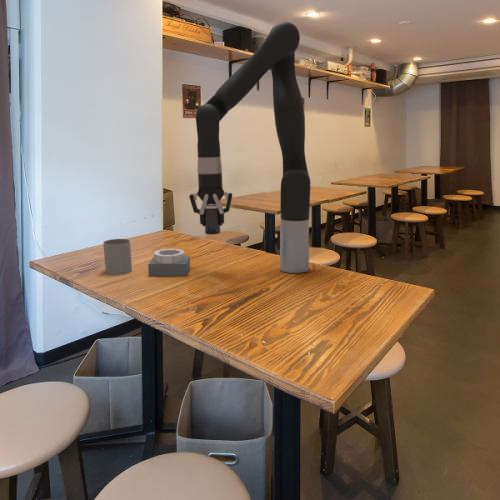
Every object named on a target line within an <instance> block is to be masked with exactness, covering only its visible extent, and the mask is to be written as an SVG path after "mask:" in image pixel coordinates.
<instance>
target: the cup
mask: <svg viewBox="0 0 500 500" xmlns="http://www.w3.org/2000/svg"><path fill="white" fill-rule="evenodd" d="M102 244H103V253H104V254H103V255H104V266H105V273H106V274H107V275H111V276H119V275H125V274H130V273H131V272H133V264H132V253H131V250H132V249H131V240H130V239H127V238H113V239H108V240H104V241H103V243H102Z"/></svg>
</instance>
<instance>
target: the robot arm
mask: <svg viewBox="0 0 500 500" xmlns="http://www.w3.org/2000/svg"><path fill="white" fill-rule="evenodd" d="M300 35H301V34H300V31H299V28H297V26H296V25H295V24H293V23H292V22H289V21H280V22H279V23H277V24H275V25H274V26H273V27H272V28H271V29H270V31H269V33H268V35H267V36H266V38H265V39H264V40H263V43H262V44H261V45H260V46H259V47H258V48H257V50H256V51H254V53H253V54H252V55H251V56H250V58H248V59H247V60H246V61H245V62H244V63H243V64H242V65H241V66H240V67H239V68H238V69H236V71H234V73H233V74H232V75H231V76H229V77H228V79H227V80H226V81H225V82H224V83H223V84H221V86H220V87H219V88H218V89H217V90H216V91H215V93H214V95H213V96H211V97H210V99H209V100H208V101H206V102H205V103H204V104H202V105H200V106H199V107H198V108H197V110H196V112H195V123H196V124H195V126H196V133H197V134H196V135H197V145H196V147H197V148H196V149H197V170H196V171H197V181H198V182H197V183H198V191H197V192H196V193H190V194H189V196H188V198H189V201H190V203H191V204H190V205H191V207H192V211H193V213H194V214H198V215H199V223H200V225H202V227H205V221H204V209H205V206H206V205H209V204H214V205H215V204H216V205H217V207H218V209H219V212H220V214H219V215H220V227H222V226H223V225H224V224H225V213H229V212H230V209H231V205H232V198H233V193H232V192H226V191H225V190H224V189H223V168H222V167H223V166H222V165H223V164H222V160H221V159H222V158H221V142H220V122H221V121H222V119H223V118H224V117H225V116H226V115H227V114H228V113H229V112H230V110H232V109H233V108H235V107H236V106H237V105H238V104H239V103H240V102H241V101H242V100H243V99H244V98H245V97H246V96H247V95H248V94H249V93H250V92H251V91H252V89H253V88H254V87H255V86H256V85H257V84H258V82H259V81H260V80H261V79H262V78H263V77H264V76H265V74H266V73H267V72H268V71H271V78H272V79H271V80H272V102H273V104H272V105H273V112H274V113H273V115H274V123H275V124H274V125H275V129H276V135H277V139H278V142H279V144H278V145H279V146H280V151H281V157H282V178H281V181H280V205H279V206H280V209H279V210H280V239H279V240H280V241H279V243H280V245H279V271H281V272H284V273H289V274H301V273H306V272H309V270H310V268H309V267H310V242H309V234H310V233H309V230H310V211H311V210H310V209H311V207H310V206H311V205H310V204H311V203H310V202H311V178H310V173H309V170H308V166H307V165H308V164H307V160H306V154H305V152H306V151H305V150H306V149H305V145H306V144H305V142H306V120H305V119H306V117H305V108H304V101H303V97H302V93H301V90H300V87H299V84H298V81H297V76H296V61H295V60H296V59H295V58H296V51H297V49H298V47H299V45H300V41H301V40H300V39H301V36H300ZM223 197H225V200H227V201H226V205H225V208H223V206H222V203H221V200H222V198H223ZM198 198H199V199H200V200H201V201H202V203H201V207H200V208H198V205H197V199H198Z"/></svg>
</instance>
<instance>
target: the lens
mask: <svg viewBox="0 0 500 500" xmlns="http://www.w3.org/2000/svg"><path fill="white" fill-rule="evenodd" d="M219 214H220V212H219V209H218V207H217V205H216V204H215V205H214V204H209V205H206V206H205V209H204V221H205V226H204V234H206V235H218V234H221V226H220V215H219Z"/></svg>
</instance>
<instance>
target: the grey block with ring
mask: <svg viewBox="0 0 500 500" xmlns="http://www.w3.org/2000/svg"><path fill="white" fill-rule="evenodd" d="M185 254H186V251H185V250H183V249H179V248H164V249H159V250H155V251H154V253H153V257H151V260H150V261H149V262H148V264H147V265H148V267H147V268H148V277H187V276H188V274H189V270H190V268H191V261H190V260H191V259H190V258H191V257H190V255H185Z"/></svg>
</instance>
